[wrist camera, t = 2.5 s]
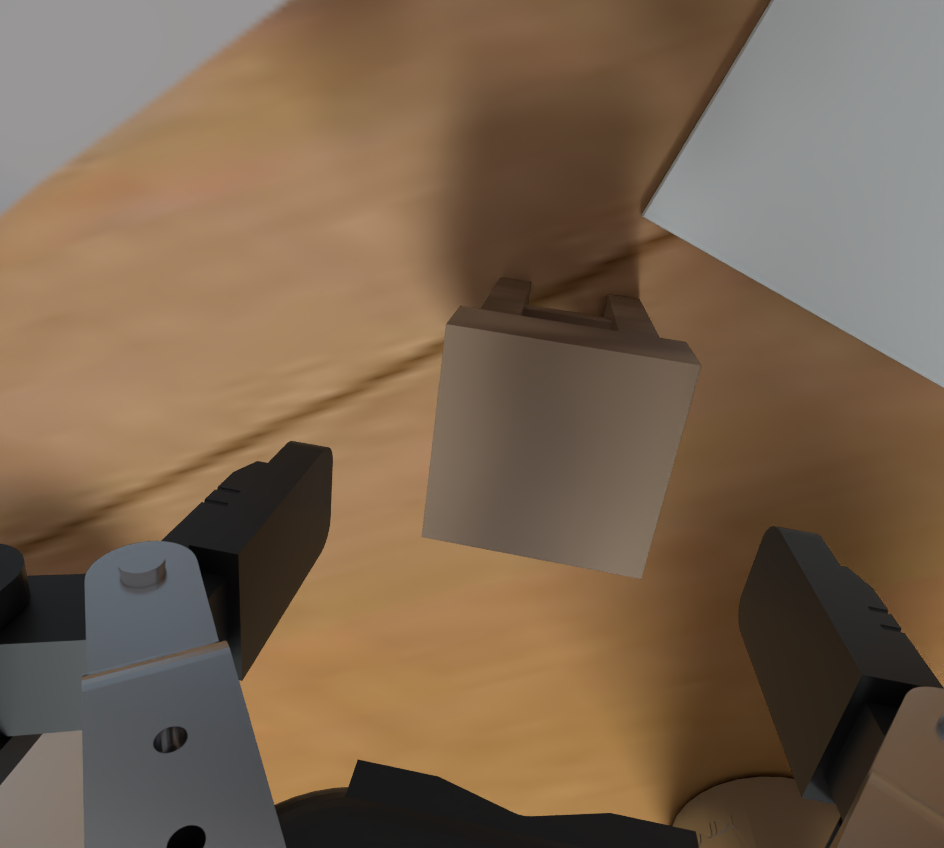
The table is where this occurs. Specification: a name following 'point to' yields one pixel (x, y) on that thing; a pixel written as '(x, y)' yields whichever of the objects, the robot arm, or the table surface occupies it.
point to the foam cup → (45, 795)
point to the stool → (556, 430)
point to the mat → (829, 170)
